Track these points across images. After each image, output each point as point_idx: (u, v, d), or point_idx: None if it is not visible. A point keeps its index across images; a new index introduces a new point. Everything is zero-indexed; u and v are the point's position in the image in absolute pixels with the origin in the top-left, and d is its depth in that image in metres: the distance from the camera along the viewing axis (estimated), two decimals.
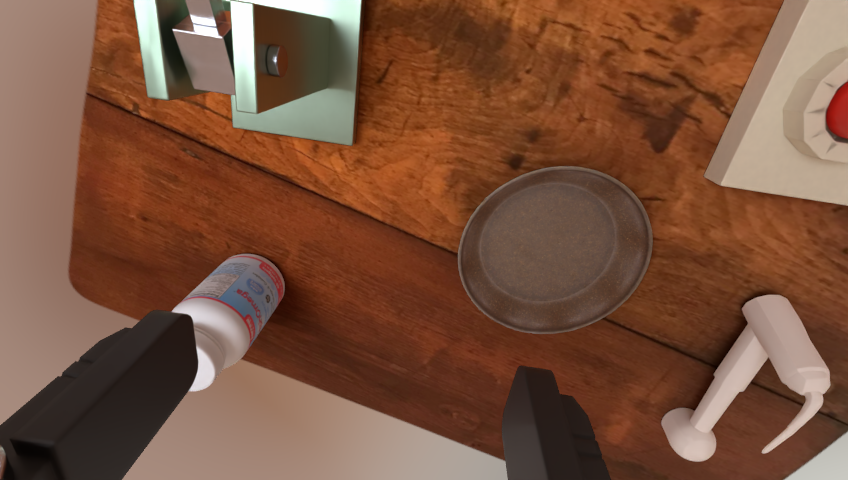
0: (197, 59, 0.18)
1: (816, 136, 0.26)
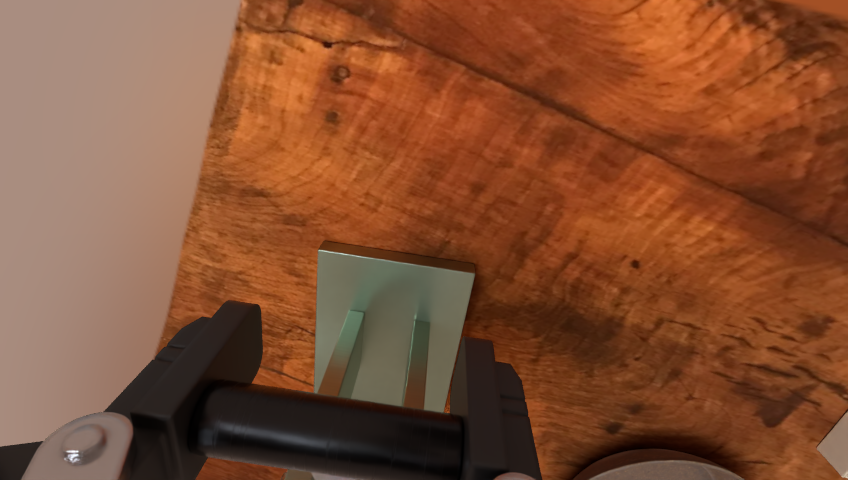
0: None
1: None
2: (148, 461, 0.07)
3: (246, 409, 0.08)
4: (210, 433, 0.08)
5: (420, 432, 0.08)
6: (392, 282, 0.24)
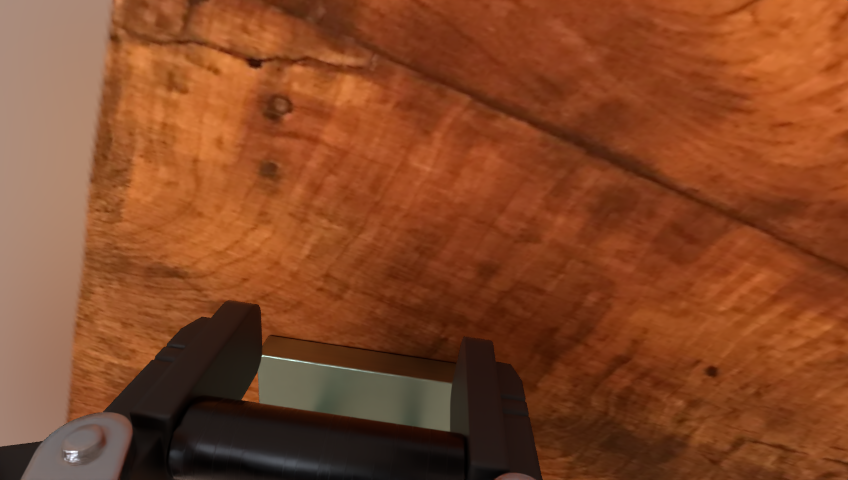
0: None
1: None
2: (147, 461, 0.07)
3: (242, 407, 0.08)
4: (200, 425, 0.07)
5: (421, 432, 0.08)
6: (365, 397, 0.17)
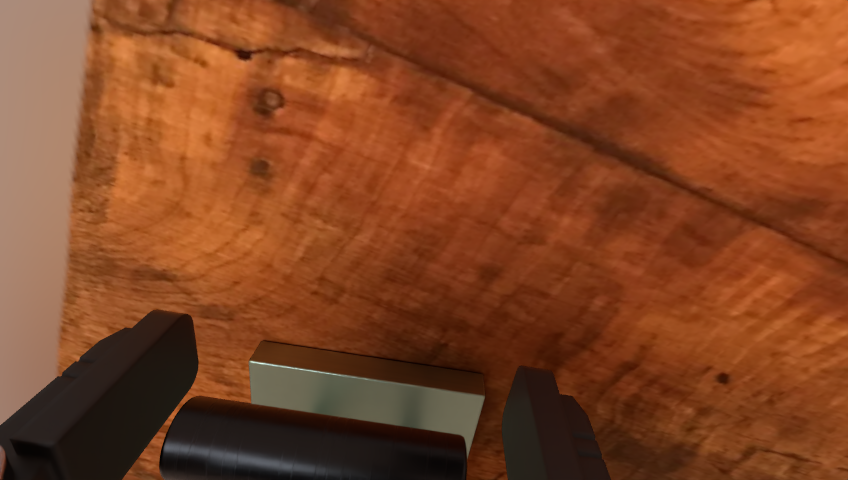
0: None
1: None
2: None
3: (238, 407, 0.08)
4: (195, 424, 0.07)
5: (420, 432, 0.08)
6: (362, 405, 0.16)
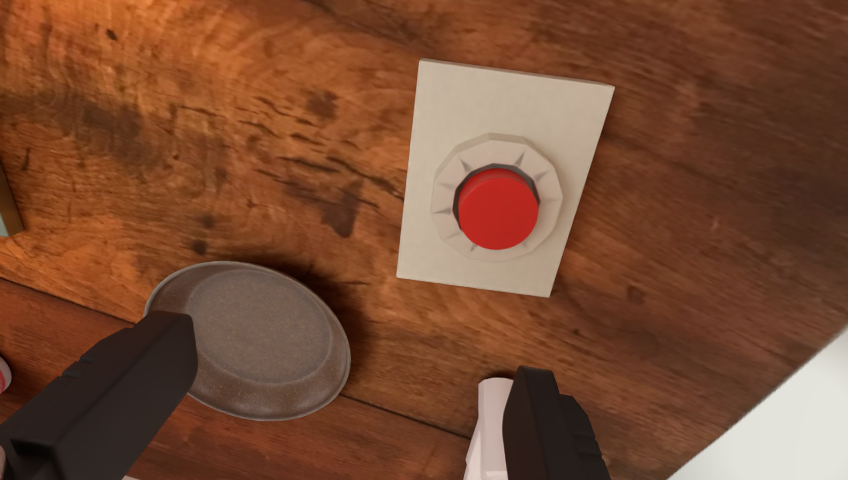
0: None
1: (453, 236, 0.23)
2: None
3: None
4: None
5: None
6: None
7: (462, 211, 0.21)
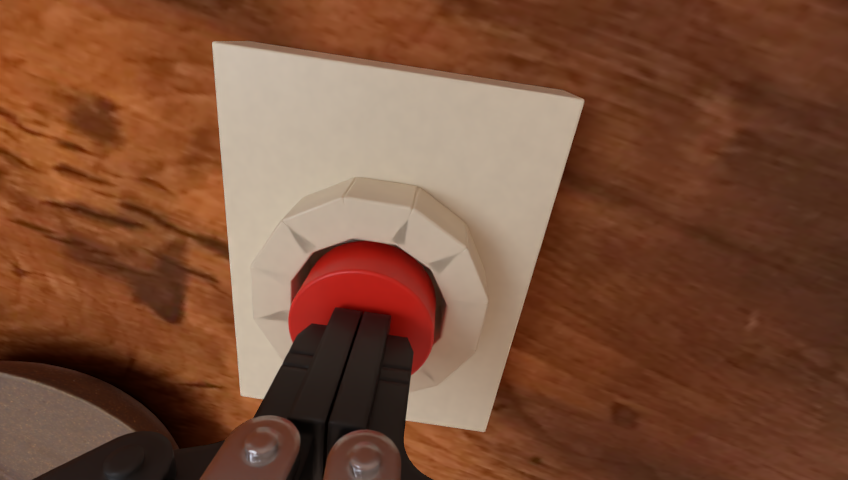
0: None
1: None
2: (306, 463, 0.07)
3: None
4: None
5: None
6: None
7: (292, 324, 0.11)
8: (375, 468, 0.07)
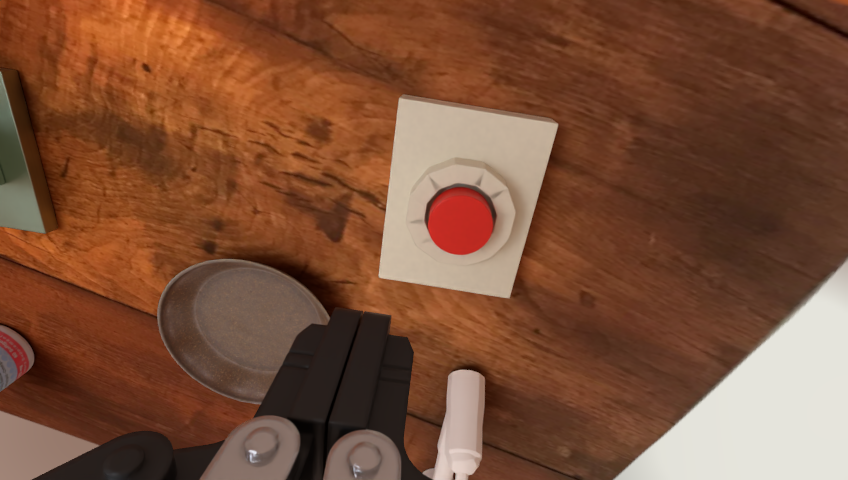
0: None
1: (425, 242, 0.27)
2: (306, 463, 0.07)
3: None
4: None
5: None
6: None
7: (430, 221, 0.25)
8: (375, 468, 0.07)
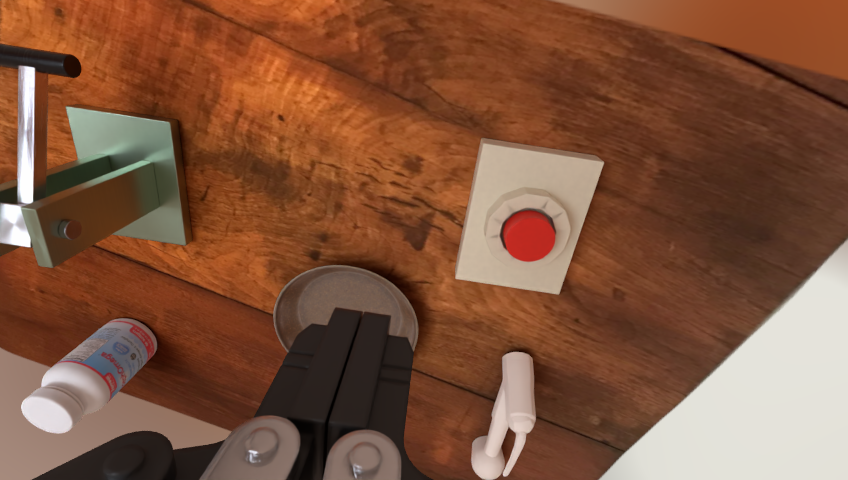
0: (8, 221, 0.28)
1: (499, 252, 0.35)
2: (306, 463, 0.07)
3: (9, 45, 0.27)
4: None
5: None
6: (119, 130, 0.36)
7: (507, 237, 0.33)
8: (375, 468, 0.07)
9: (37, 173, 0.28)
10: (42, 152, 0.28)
